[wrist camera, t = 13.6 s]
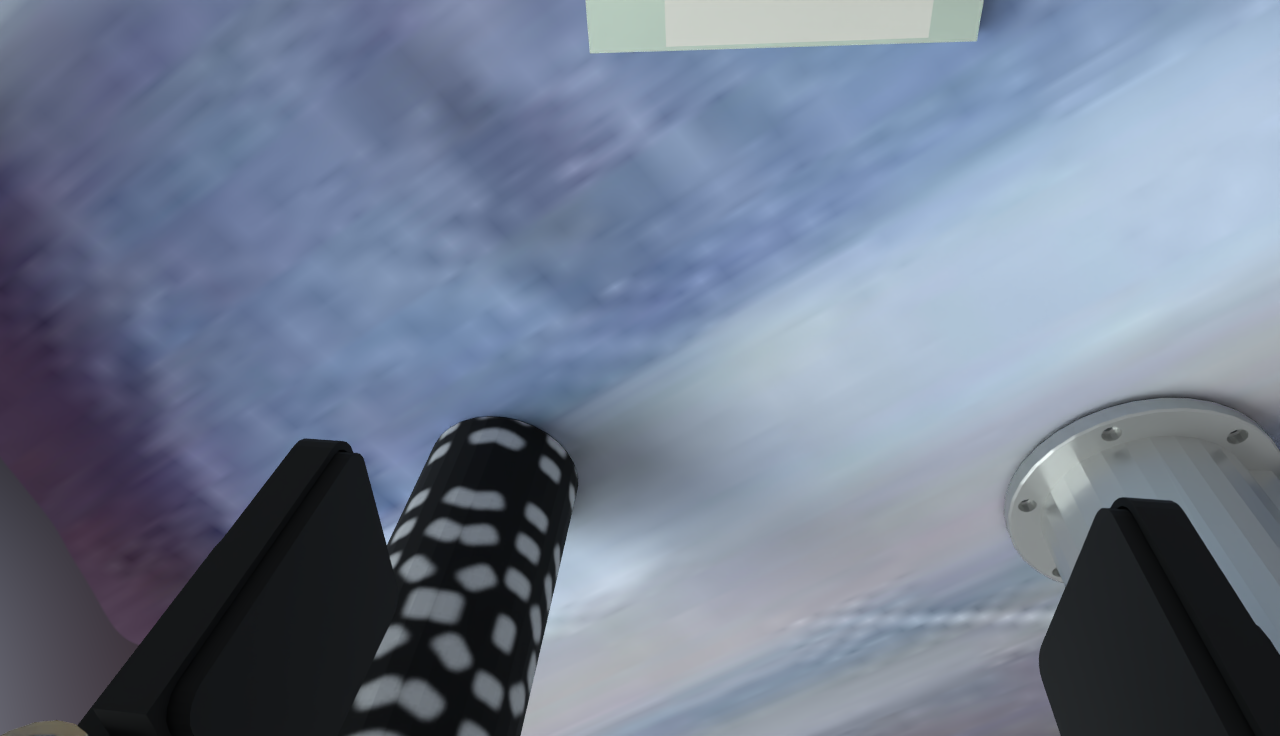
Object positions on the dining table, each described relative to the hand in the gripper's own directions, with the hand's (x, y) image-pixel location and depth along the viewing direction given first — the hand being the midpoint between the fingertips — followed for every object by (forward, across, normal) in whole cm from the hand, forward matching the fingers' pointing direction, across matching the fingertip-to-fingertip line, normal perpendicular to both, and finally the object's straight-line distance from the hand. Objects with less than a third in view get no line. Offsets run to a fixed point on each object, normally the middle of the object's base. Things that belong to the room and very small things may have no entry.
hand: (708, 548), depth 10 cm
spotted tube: (+25, +12, +22) cm, 35 cm away
